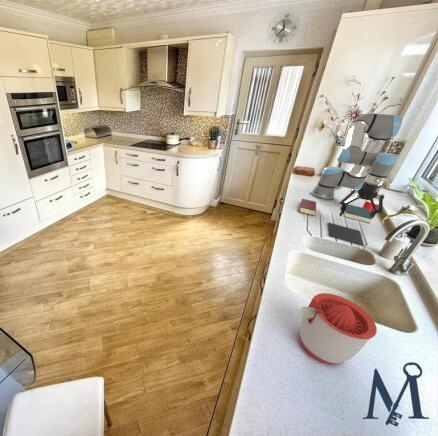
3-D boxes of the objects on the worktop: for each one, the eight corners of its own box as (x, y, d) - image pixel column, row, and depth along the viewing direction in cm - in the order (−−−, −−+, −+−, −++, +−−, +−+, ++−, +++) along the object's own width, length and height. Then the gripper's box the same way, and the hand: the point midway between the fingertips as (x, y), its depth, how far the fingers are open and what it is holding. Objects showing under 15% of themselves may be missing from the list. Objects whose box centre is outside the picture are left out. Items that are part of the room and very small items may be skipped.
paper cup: (368, 217, 159) (379, 198, 152) (372, 222, 153) (383, 203, 146) (354, 214, 162) (364, 196, 154) (357, 219, 155) (368, 200, 148)
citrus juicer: (285, 317, 86) (305, 278, 76) (340, 335, 81) (370, 296, 71) (289, 357, 74) (315, 316, 64) (355, 381, 68) (394, 340, 58)
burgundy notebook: (300, 203, 174) (302, 198, 172) (314, 206, 170) (316, 201, 168) (298, 211, 162) (300, 206, 160) (313, 215, 158) (315, 210, 155)
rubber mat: (328, 223, 150) (328, 222, 149) (359, 231, 142) (359, 230, 142) (329, 235, 136) (329, 235, 136) (363, 245, 129) (363, 245, 129)
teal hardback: (342, 207, 141) (344, 203, 139) (366, 213, 135) (368, 208, 134) (343, 217, 130) (346, 212, 129) (369, 223, 125) (372, 218, 124)
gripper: (346, 180, 126) (328, 214, 137) (405, 191, 115) (381, 228, 126) (345, 176, 131) (328, 210, 142) (401, 186, 120) (378, 222, 131)
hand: (353, 218), depth 134 cm, fingers closed on teal hardback, 11 cm apart
